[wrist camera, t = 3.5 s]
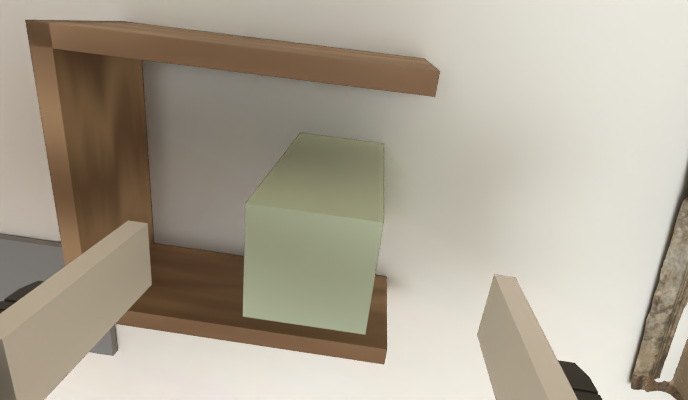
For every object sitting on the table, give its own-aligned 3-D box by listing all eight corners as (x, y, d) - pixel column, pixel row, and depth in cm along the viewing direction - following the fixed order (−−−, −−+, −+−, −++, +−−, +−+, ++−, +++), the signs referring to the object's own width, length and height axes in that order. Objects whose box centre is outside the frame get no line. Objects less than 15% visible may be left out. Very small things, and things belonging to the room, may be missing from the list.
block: (300, 132, 26) (245, 203, 15) (383, 143, 25) (383, 222, 15) (294, 209, 28) (242, 316, 17) (372, 219, 27) (365, 334, 17)
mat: (-18, 231, 30) (-26, 235, 30) (105, 249, 30) (100, 253, 29) (6, 333, 34) (0, 338, 33) (117, 350, 33) (113, 355, 33)
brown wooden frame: (121, 21, 24) (25, 19, 18) (424, 58, 23) (439, 71, 17) (140, 254, 30) (73, 317, 23) (384, 289, 29) (384, 364, 23)
